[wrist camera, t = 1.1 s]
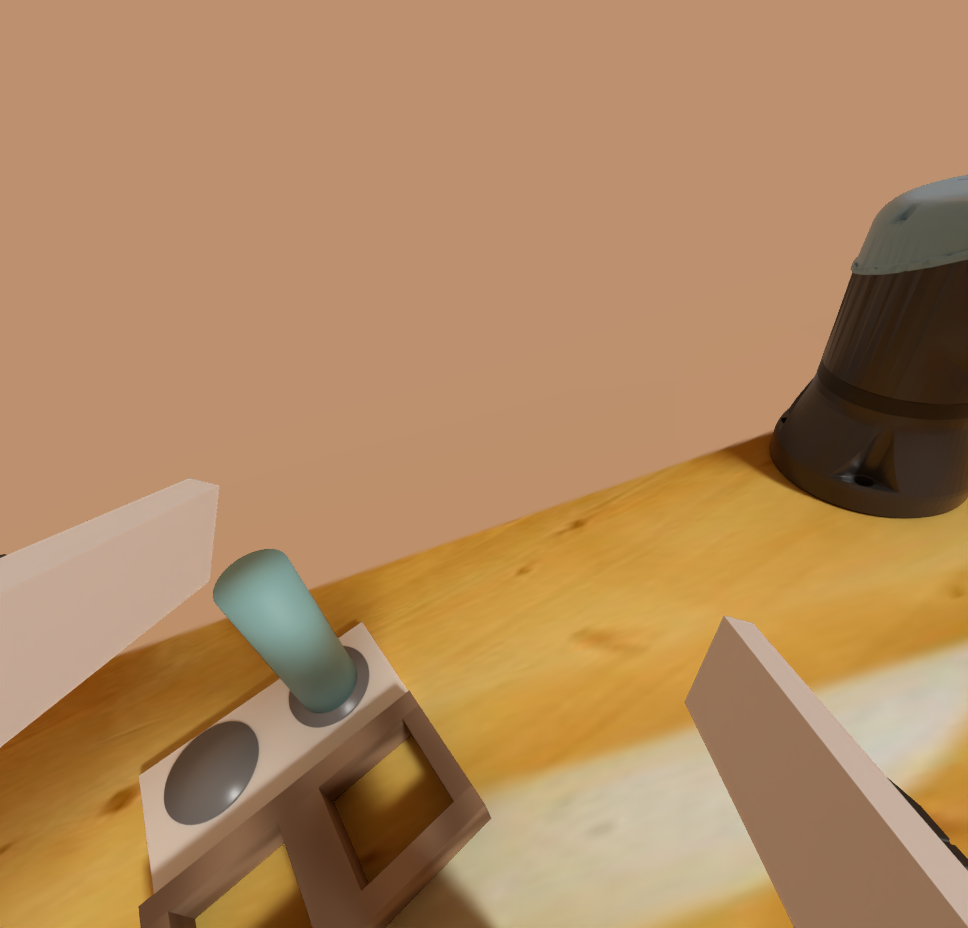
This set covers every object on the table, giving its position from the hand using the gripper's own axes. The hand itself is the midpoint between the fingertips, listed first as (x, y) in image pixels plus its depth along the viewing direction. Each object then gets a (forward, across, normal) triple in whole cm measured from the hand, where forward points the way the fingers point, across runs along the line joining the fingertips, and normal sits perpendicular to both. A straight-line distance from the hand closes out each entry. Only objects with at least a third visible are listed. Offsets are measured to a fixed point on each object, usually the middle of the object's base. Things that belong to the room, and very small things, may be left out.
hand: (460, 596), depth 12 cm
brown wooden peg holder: (+8, -3, -23) cm, 24 cm away
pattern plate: (+13, -8, -22) cm, 27 cm away
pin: (+16, -7, -19) cm, 26 cm away
